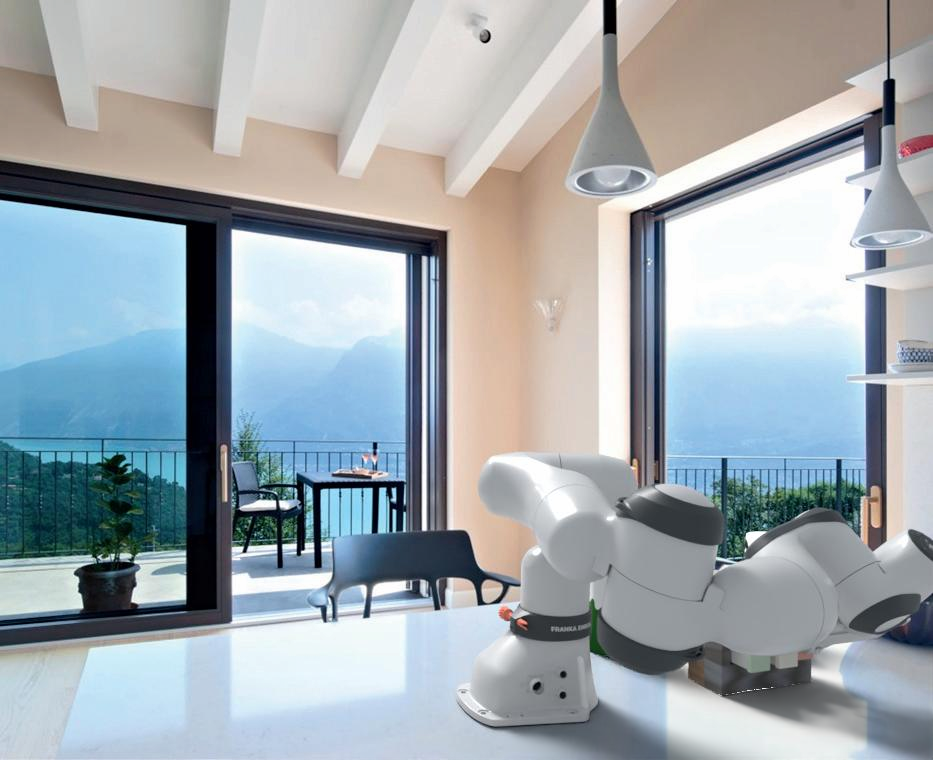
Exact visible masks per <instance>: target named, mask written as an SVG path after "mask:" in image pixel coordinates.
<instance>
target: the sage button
mask: <svg viewBox="0 0 933 760" xmlns="http://www.w3.org/2000/svg"><path fill="white" fill-rule="evenodd" d="M730 662H732V663H735V664H737V665H739V666H741V667H743V668H745V669H747V671H748V672H750V673H755V672H762V671H769V670H770V656H755V655H748V654H742V653H739V652H735V651H733V650H731V649H730Z"/></svg>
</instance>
